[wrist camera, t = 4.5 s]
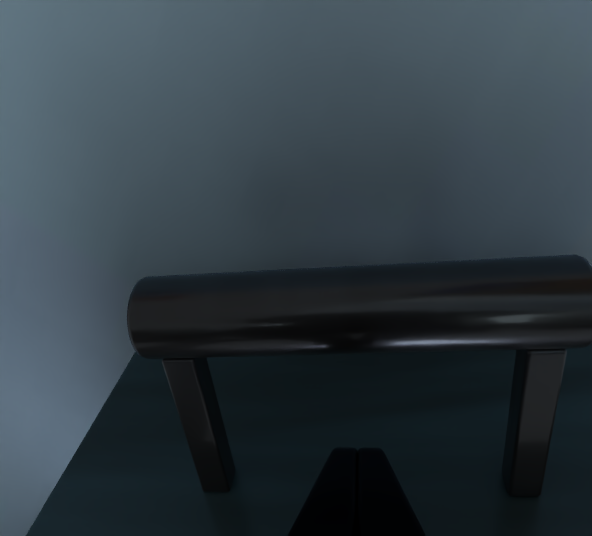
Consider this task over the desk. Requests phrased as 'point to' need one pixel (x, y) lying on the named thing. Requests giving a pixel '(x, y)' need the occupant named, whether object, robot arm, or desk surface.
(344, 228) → the desk surface
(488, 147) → the desk surface
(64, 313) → the desk surface
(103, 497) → the drawer
